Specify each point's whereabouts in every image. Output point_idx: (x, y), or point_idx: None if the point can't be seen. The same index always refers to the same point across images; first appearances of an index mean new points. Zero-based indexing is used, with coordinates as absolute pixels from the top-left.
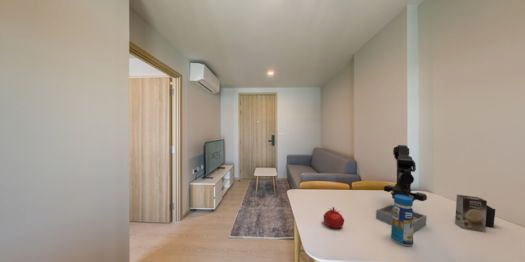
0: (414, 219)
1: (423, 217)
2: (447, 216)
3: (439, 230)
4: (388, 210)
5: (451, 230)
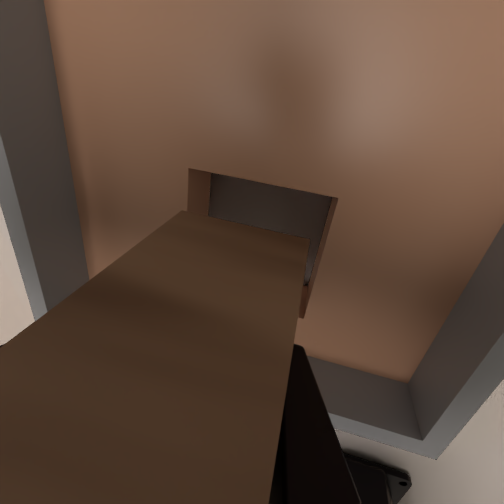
0: (137, 242)
1: (19, 264)
2: None
3: None
4: (451, 312)
5: (10, 308)
